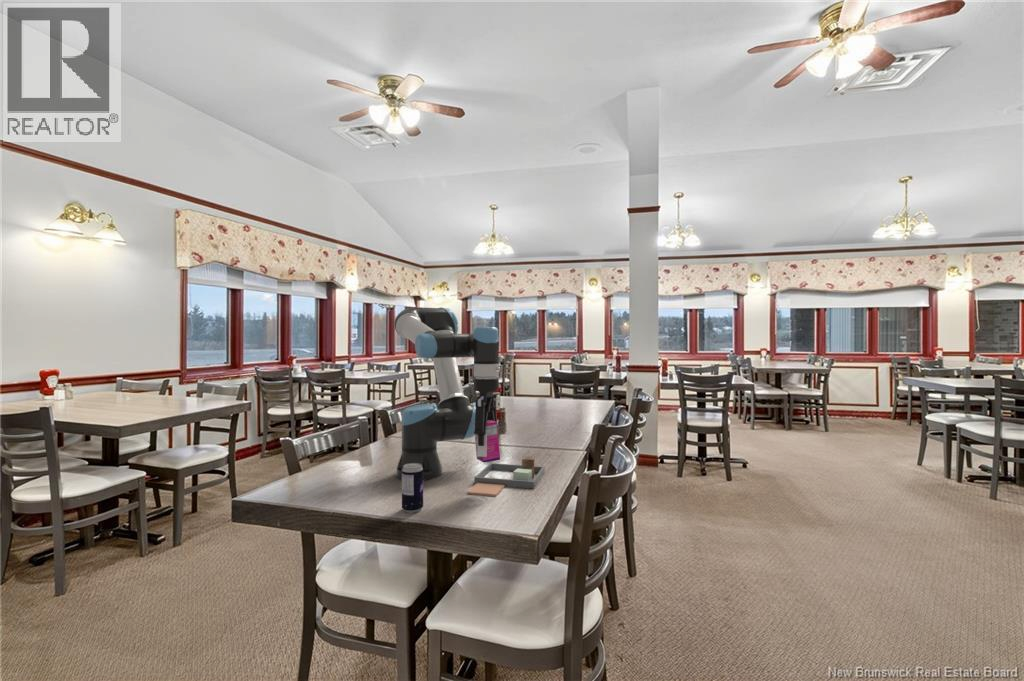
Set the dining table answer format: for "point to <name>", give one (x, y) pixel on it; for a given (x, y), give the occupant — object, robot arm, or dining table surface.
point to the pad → (486, 489)
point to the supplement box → (490, 442)
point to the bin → (508, 482)
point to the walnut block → (528, 463)
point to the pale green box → (522, 474)
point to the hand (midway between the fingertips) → (486, 452)
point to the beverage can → (412, 487)
